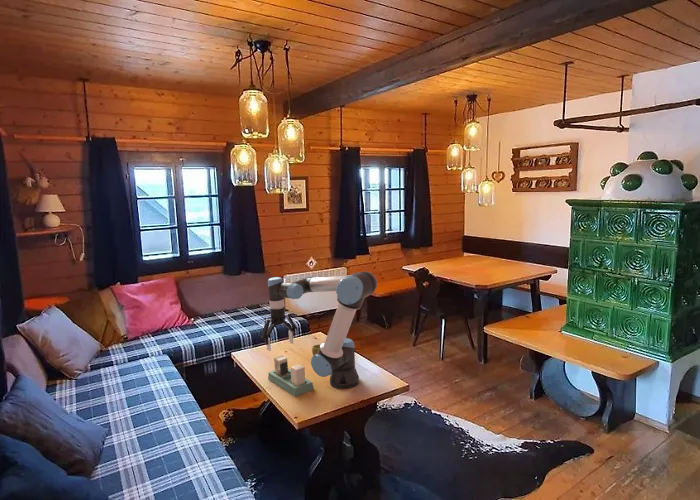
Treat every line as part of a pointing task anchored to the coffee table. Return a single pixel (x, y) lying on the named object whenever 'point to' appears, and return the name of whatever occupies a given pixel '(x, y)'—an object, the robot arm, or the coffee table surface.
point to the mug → (315, 349)
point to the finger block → (281, 366)
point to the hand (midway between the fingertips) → (280, 346)
